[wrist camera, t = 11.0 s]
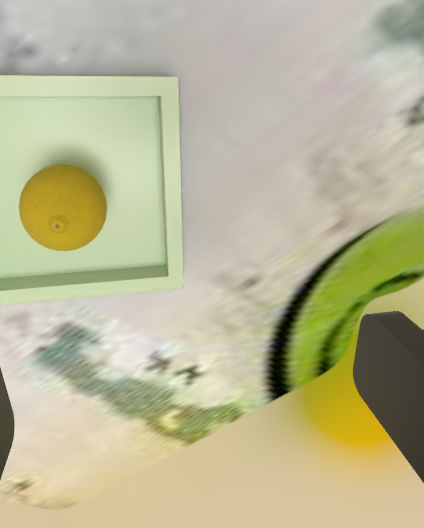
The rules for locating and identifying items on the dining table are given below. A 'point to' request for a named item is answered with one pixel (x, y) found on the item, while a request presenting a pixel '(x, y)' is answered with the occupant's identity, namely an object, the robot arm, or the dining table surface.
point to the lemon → (62, 207)
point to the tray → (106, 174)
